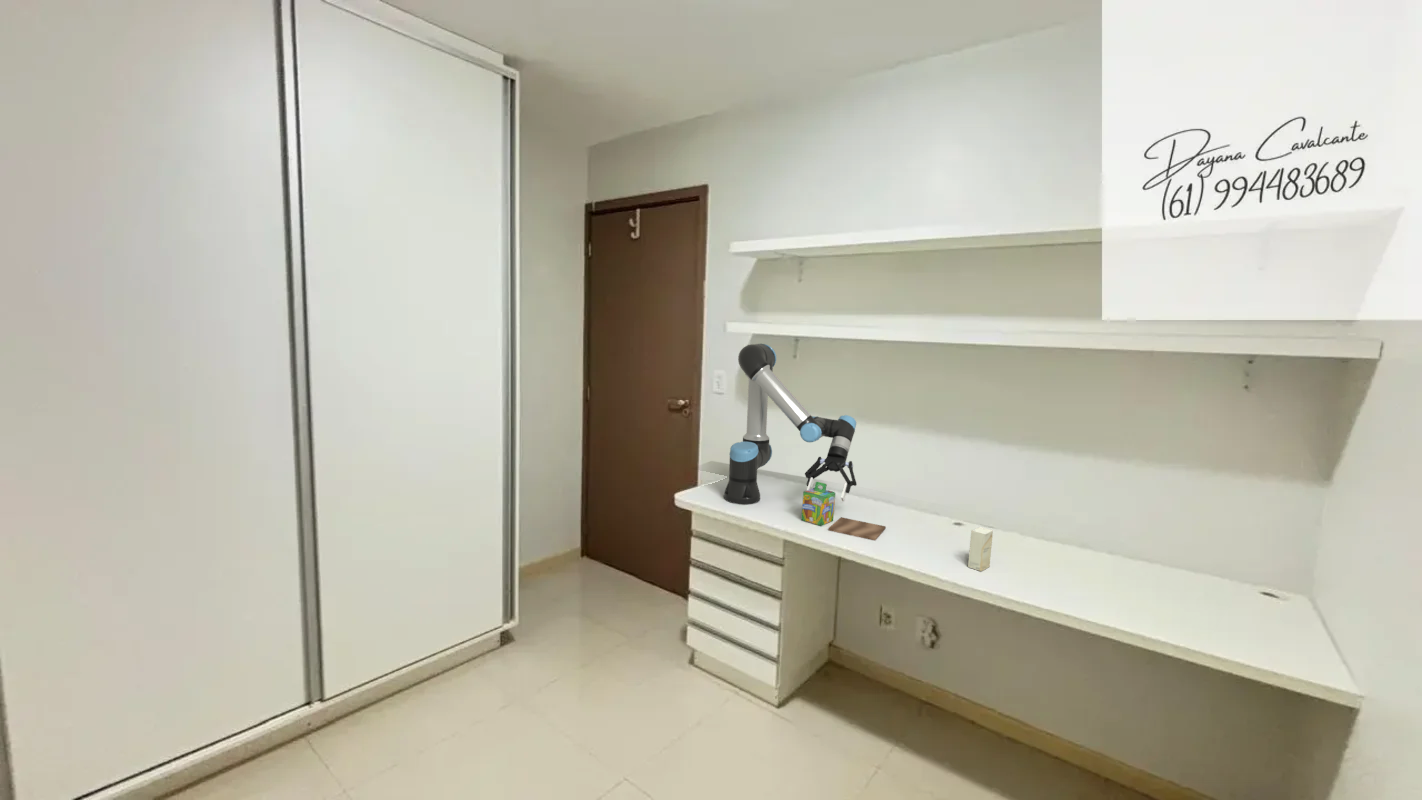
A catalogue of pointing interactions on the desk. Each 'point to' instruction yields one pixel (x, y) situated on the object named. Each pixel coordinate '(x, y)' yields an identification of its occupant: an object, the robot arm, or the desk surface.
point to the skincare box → (980, 548)
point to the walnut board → (857, 528)
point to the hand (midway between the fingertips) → (824, 496)
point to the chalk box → (818, 505)
